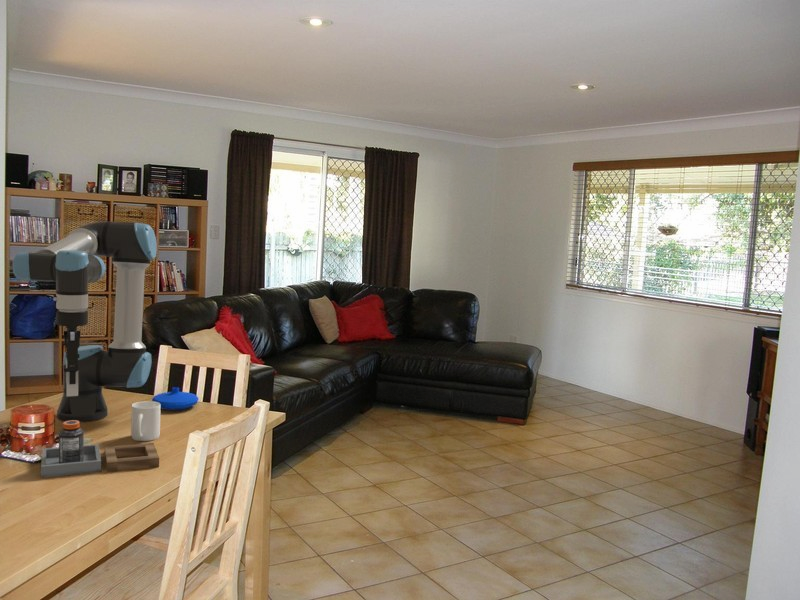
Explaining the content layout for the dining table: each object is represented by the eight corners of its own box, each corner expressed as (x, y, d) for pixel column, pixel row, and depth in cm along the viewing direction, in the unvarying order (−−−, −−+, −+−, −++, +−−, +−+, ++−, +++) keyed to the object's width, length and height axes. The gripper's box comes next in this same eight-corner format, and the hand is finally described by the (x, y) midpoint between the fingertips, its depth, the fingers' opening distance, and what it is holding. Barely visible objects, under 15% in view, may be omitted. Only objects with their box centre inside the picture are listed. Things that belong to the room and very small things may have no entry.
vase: (202, 402, 251) (203, 383, 250) (192, 414, 235) (193, 394, 234) (158, 400, 249) (159, 381, 248) (146, 412, 234) (146, 392, 233)
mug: (150, 446, 201) (151, 412, 200) (122, 445, 200) (122, 411, 199) (163, 433, 213) (164, 401, 212) (136, 432, 212) (137, 400, 211)
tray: (42, 459, 186) (42, 448, 185) (98, 454, 192) (98, 444, 192) (41, 478, 173) (40, 466, 173) (100, 471, 179) (101, 461, 179)
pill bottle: (69, 457, 186) (70, 417, 185) (88, 460, 185) (88, 420, 183) (53, 464, 180) (53, 423, 179) (72, 468, 179) (73, 426, 177)
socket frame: (103, 452, 194) (103, 443, 194) (152, 447, 200) (152, 439, 199) (107, 472, 180) (107, 462, 179) (159, 466, 186) (159, 457, 185)
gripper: (56, 302, 187) (56, 378, 190) (55, 317, 165) (55, 402, 168) (86, 302, 190) (86, 376, 193) (89, 317, 168) (89, 400, 171)
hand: (71, 389), depth 180 cm, fingers open, 13 cm apart
